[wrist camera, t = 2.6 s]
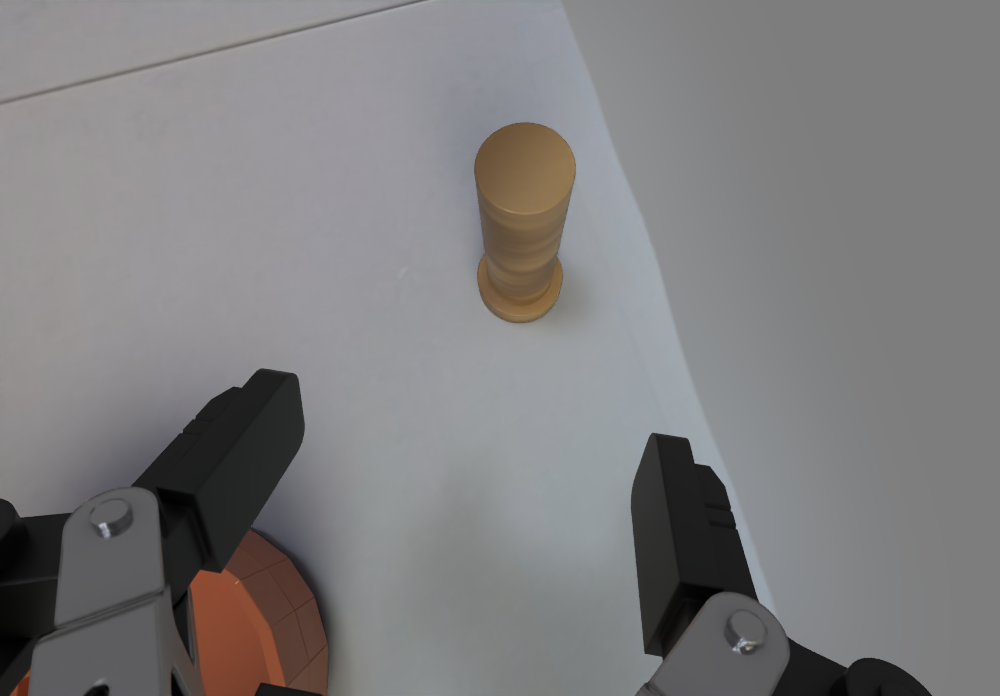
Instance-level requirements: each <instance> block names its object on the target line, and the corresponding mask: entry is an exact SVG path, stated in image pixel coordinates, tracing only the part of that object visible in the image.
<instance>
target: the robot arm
mask: <svg viewBox="0 0 1000 696" xmlns="http://www.w3.org/2000/svg"><path fill="white" fill-rule="evenodd" d="M304 430H305V423H304V415H303V408H302V401H301V394H300V387H299V380H298V377H297V375H296V374H294V373H288V372H282V371H276V370H270V369H264V368H262V369H259V370H257V371H256V372H255V373H254V375H253V376H252V377H251V378H250V379H249V380H248V381H247V383H246V384H245V385H244V386H243V387H242V388H239V387H232V388H230V389H228V390H227V391H225V392H223V393H222V394H220V395H218V396H216V397H215V398H213V399H211V400H210V401H209V402H208V403H207V405H206V406H205V407H204V408H203V409H202V410H201V411H200V412H199V413H198V414H197V415H196V419H195V420H192V421H191V422H190V423H189V424H188V425H187V426H186V427H185V428H184V429H183V433H180V434H179V435H178V436H177V437H176V438H175V439H174V440H173V441H172V442H171V443H170V444H169V446H168V447H167V448H166V449H165V450H164V451H163V452H162V453H161V454H160V455H159V456H158V457H157V459H156V460H155V461H154V462H153V463H152V464H151V465H150V466H149V467H148V468H147V469H146V470H145V471H144V473H143V474H142V475H141V476H140V477H139V478H138V479H137V480H136V481H135V482H134V483H133V484H132V485H131V486H130V487H121V488H116V489H112V490H109V491H106V492H103V493H101V494H98V495H96V496H94V497H92V498H91V499H89V500H87V501H86V502H84V503H83V504H82V505H80V506H79V507H78V508H77V509H76V510H75V511H74V512H73V513H65V514H55V515H44V516H34V517H24V518H20V516H19V515H18V513H17V511H16V510H15V508H14V506H13V505H12V504H11V503H10V502H8V501H6V500H4V499H0V696H10V695H11V693H12V692H13V691H14V689H15V688H16V687H17V685H18V684H19V683H20V681H21V680H22V679H23V678H24V676H25V675H26V674H27V672H28V671H29V670H30V668H31V672H30V680H29V689H28V696H206V693H205V690H204V685H203V681H202V675H201V668H200V659H199V650H198V641H197V632H196V624H195V615H194V606H193V597H192V590H191V587H190V584H191V582H192V581H193V579H194V578H195V576H196V575H197V573H198V572H199V570H204V571H209V572H215V573H220V574H221V573H222V571H223V570H224V568H225V566H226V565H227V563H228V562H229V560H230V559H231V557H232V555H233V554H234V552H235V551H236V549H237V547H238V546H239V544H240V543H241V541H242V539H243V538H244V536H245V535H246V533H247V531H248V530H249V528H250V527H251V525H252V524H253V522H254V520H255V519H256V517H257V516H258V514H259V512H260V511H261V509H262V508H263V506H264V504H265V503H266V501H267V500H268V498H269V497H270V495H271V493H272V492H273V490H274V489H275V487H276V485H277V484H278V482H279V481H280V479H281V477H282V476H283V474H284V473H285V471H286V469H287V468H288V466H289V465H290V463H291V462H292V460H293V458H294V457H295V455H296V454H297V452H298V450H299V448H300V446H301V443H302V440H303V436H304ZM631 513H632V524H633V535H634V545H635V556H636V566H637V577H638V588H639V598H640V609H641V620H642V630H643V641H644V651H645V654H650V655H655V656H661V657H663V662H662V664H661V665H660V667H659V668H658V669H657V671H656V672H655V674H654V675H653V676H652V678H651V679H650V680H649V681H648V683H645V684H644V685H643V686H642V687H641V688H640V690H639V691H638V692H637V694H636V695H635V696H932V695H931V694H930V693H929V692H928V691H927V689H926V688H925V687H924V686H923V685H922V684H921V683H920V682H918V681H917V680H916V679H915V678H914V677H913V676H911V675H910V674H908V673H907V672H906V671H904V670H902V669H901V668H899V667H897V666H896V665H893V664H891V663H889V662H886V661H883V660H880V659H875V658H863V659H859V660H857V661H855V662H854V663H852V665H851V666H850V667H849V668H846V667H844V666H842V665H839V664H838V663H836V662H834V661H832V660H830V659H827V658H825V657H823V656H821V655H819V654H817V653H815V652H813V651H811V650H809V649H807V648H805V647H803V646H801V645H799V644H797V643H796V642H794V641H793V640H791V639H790V638H789V637H787V636H786V633H785V631H784V629H783V627H782V626H781V624H780V622H779V621H778V620H777V619H776V617H775V616H774V615H773V614H772V613H771V612H770V611H769V610H768V609H767V608H765V607H764V606H763V605H762V604H760V603H759V601H758V598H757V595H756V592H755V589H754V585H753V582H752V578H751V575H750V571H749V568H748V564H747V561H746V558H745V554H744V551H743V547H742V544H741V540H740V537H739V533H738V530H737V529H736V523H735V520H734V516H733V513H732V512H731V506H730V502H729V499H728V496H727V492H726V489H725V486H724V484H723V483H722V482H721V481H720V479H719V478H718V477H717V475H716V474H715V473H714V471H713V470H712V469H711V467H710V466H706V465H700V464H695V463H694V459H693V455H692V450H691V446H690V443H689V440H688V439H687V438H682V437H676V436H670V435H664V434H658V433H652V434H651V435H650V437H649V439H648V442H647V444H646V447H645V450H644V453H643V456H642V459H641V462H640V465H639V467H638V470H637V473H636V476H635V479H634V483H633V487H632V494H631ZM254 696H323V695H322V694H319V693H314V692H309V691H303V690H298V689H293V688H288V687H283V686H278V685H272V684H267V683H262V682H260V685H259V687H258V689H257V691H256V693H255V695H254Z"/></svg>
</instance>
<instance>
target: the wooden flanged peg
mask: <svg viewBox="0 0 1000 696" xmlns="http://www.w3.org/2000/svg"><path fill="white" fill-rule="evenodd" d="M474 173H475V180H476V188H477V196H478V204H479V211H480V219H481V227H482V235H483V242H484V250H485V254H484V255H483V257H482V259H481V261H480V263H479V267H478V273H477V279H478V286H479V291H480V295H481V298H482V300H483V302H484V304H485V305H486V307H487V308H488V309H489V310H490V311H491V312H492V313H493V314H494V315H496V316H497V317H499V318H501V319H503V320H505V321H509V322H513V323H526V322H531V321H534V320H536V319H539V318H540V317H542V316H544V315H545V314H546V313H547V312H548V311H549V310H550V309H551V308H552V307H553V306H554V304H555V302H556V301H557V298H558V295H559V292H560V289H561V285H562V278H563V276H562V267H561V264H560V261H559V259H558V257H557V254H558V250H559V246H560V241H561V237H562V232H563V228H564V224H565V219H566V215H567V211H568V206H569V202H570V197H571V193H572V189H573V184H574V180H575V174H576V164H575V158H574V155H573V152H572V150H571V148H570V147H569V145H568V144H567V142H566V141H565V140H564V139H563V138H562V137H561V136H560V135H559V134H558V133H557V132H555V131H553V130H552V129H550V128H548V127H546V126H543V125H540V124H535V123H515V124H511V125H508V126H505V127H502V128H501V129H499V130H497V131H495V132H494V133H493V134H491V135H490V136H489V137H488V138H487V139H486V140H485V142H484V143H483V144H482V146H481V147H480V149H479V151H478V153H477V156H476V160H475V166H474Z"/></svg>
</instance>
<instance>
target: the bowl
mask: <svg viewBox="0 0 1000 696" xmlns="http://www.w3.org/2000/svg"><path fill="white" fill-rule="evenodd" d="M190 587H191V590H192V597H193V606H194V615H195V624H196V632H197V641H198V650H199V659H200V668H201V675H202V681H203V685H204V690H205V693H206V696H254V695H255V693H256V691H257V689H258V687H259V685H260V682H262V683H267V684H272V685H278V686H283V687H288V688H293V689H298V690H303V691H309V692H314V693H319V694H322V695H323V696H327V682H328V644H327V639H326V636H325V632H324V629H323V625H322V621H321V618H320V614H319V611H318V607H317V604H316V600H315V598H314V595H313V593H312V592H311V590H310V589H309V587H308V586H307V584H306V583H305V581H304V580H303V578H302V577H301V575H300V574H299V572H298V571H297V569H296V568H295V566H294V565H293V563H292V562H291V560H290V559H289V558H288V557H287V556H286V555H285V554H283V553H282V552H281V551H279V550H278V549H277V548H275V547H274V546H273V545H271V544H270V543H269V542H267V541H266V540H265V539H263V538H262V537H261V536H259V535H258V534H257V533H255V532H254V531H251V530H248V531H247V533H246V535H245V536H244V538H243V539H242V541H241V543H240V544H239V546H238V547H237V549H236V551H235V552H234V554H233V555H232V557H231V559H230V560H229V562H228V563H227V565H226V566H225V568H224V570H223V571H222V573H221V574H220V573H215V572H209V571H204V570H199V572H198V573H197V575H196V576H195V578H194V579H193V581H192V582H191V584H190ZM30 672H31V668H30V670H29V671H28V672H27V674H26V675H25V676H24V678H23V679H22V680H21V681H20V683H19V684H18V685H17V687H16V688H15V689H14V691H13V692H12V693H11V695H10V696H28V689H29V680H30Z"/></svg>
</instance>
